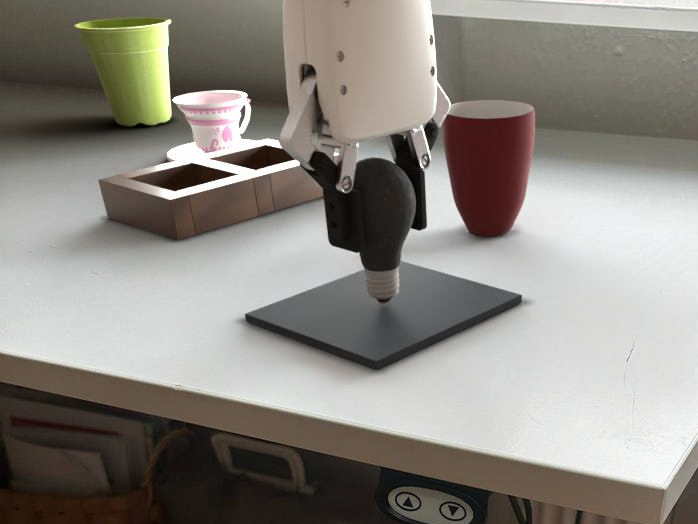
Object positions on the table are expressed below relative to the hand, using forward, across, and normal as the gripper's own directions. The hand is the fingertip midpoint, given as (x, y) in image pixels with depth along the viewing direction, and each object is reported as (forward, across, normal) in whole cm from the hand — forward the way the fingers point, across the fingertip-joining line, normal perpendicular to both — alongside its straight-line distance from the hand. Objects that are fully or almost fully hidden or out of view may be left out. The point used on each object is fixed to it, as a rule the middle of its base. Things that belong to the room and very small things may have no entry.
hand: (378, 234), depth 68 cm
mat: (+6, 0, 0) cm, 6 cm away
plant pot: (+6, -29, -74) cm, 80 cm away
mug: (+6, -21, -8) cm, 23 cm away
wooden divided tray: (+6, -11, -33) cm, 36 cm away
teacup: (+6, -23, -50) cm, 55 cm away
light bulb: (+5, 0, 0) cm, 5 cm away
